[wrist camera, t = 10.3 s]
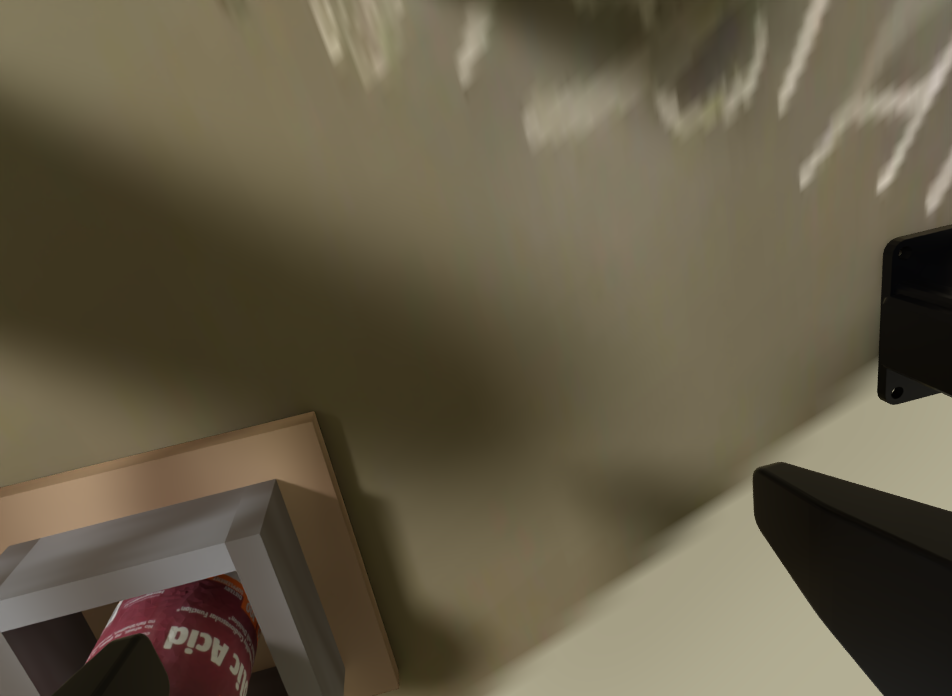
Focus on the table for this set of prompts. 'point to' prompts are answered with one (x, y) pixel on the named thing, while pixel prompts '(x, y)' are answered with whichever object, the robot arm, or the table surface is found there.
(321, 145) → the table surface
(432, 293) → the table surface
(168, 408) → the table surface
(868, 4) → the table surface
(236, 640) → the pill bottle
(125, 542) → the bottle holder
